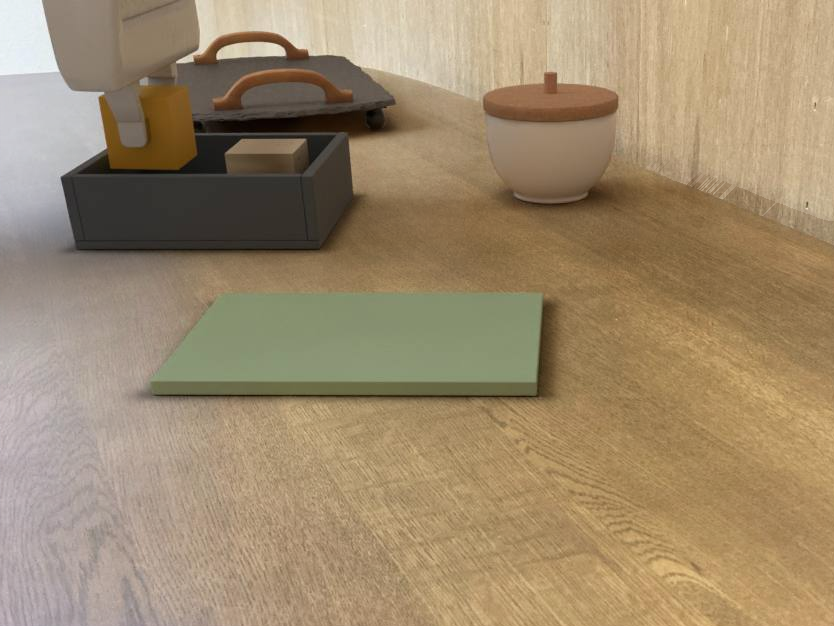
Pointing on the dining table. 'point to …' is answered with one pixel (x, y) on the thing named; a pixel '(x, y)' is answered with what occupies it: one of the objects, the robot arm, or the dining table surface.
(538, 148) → the lidded sugar bowl
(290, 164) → the cream block
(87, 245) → the box
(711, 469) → the dining table surface
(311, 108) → the serving tray
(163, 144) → the mustard block
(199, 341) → the mat
